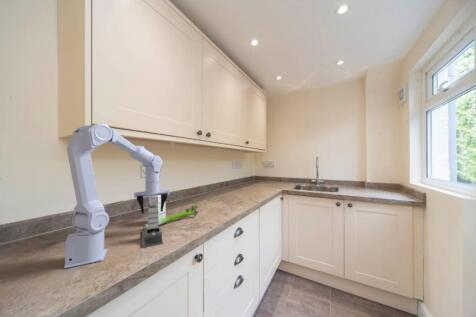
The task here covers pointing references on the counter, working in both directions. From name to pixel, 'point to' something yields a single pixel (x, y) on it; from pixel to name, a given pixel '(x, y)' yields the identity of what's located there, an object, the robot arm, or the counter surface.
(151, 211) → the column
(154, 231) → the stand
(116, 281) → the counter surface
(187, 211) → the leek
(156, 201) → the syrup box
